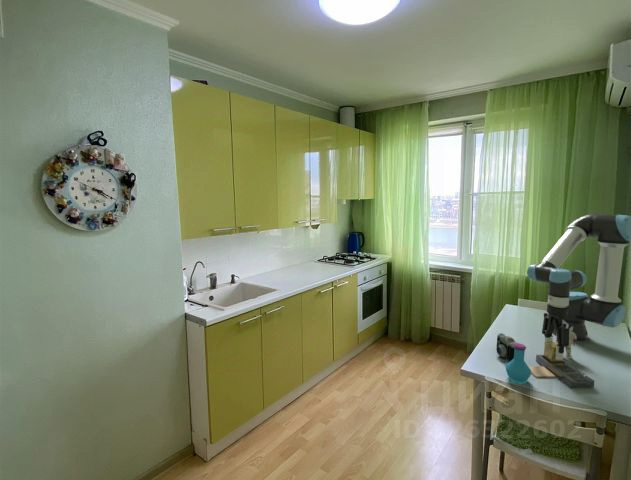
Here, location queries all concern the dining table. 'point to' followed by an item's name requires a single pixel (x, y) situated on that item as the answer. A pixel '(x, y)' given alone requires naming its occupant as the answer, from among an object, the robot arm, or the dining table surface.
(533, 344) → the dining table surface
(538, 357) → the grey slotted tray
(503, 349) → the camera
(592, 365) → the dining table surface
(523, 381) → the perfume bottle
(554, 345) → the block
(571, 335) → the figurine
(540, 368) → the cork mat
